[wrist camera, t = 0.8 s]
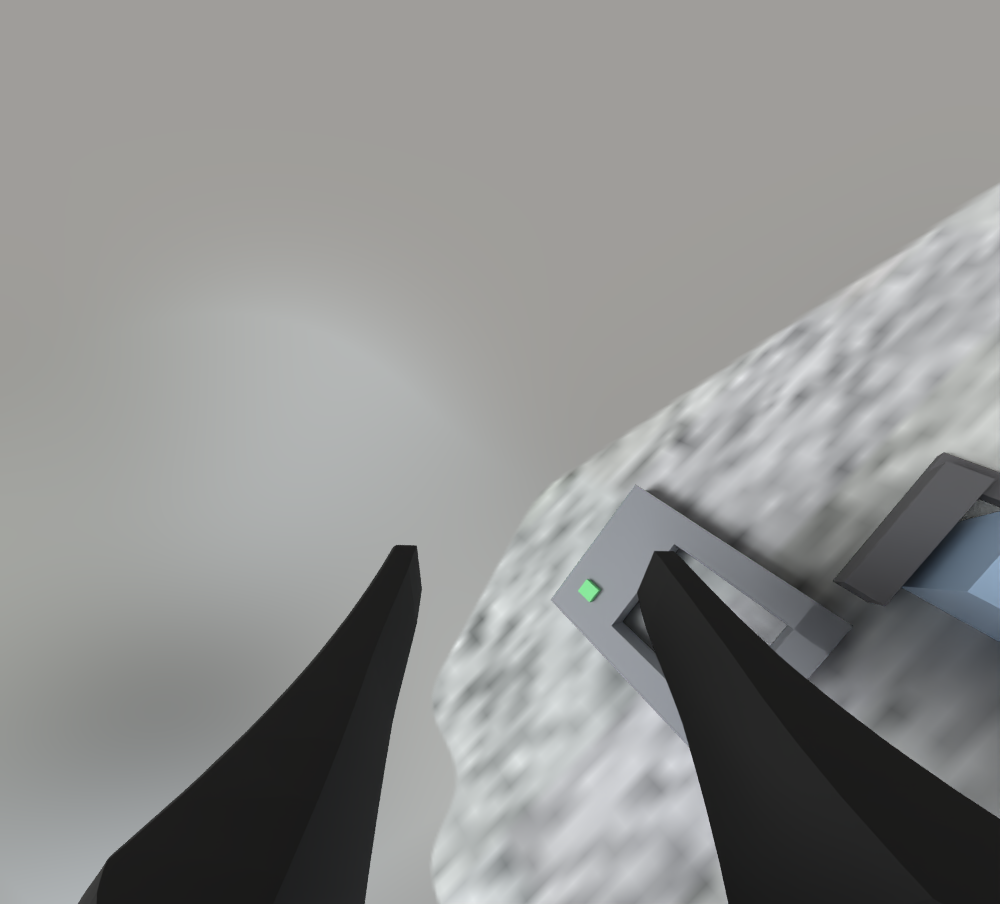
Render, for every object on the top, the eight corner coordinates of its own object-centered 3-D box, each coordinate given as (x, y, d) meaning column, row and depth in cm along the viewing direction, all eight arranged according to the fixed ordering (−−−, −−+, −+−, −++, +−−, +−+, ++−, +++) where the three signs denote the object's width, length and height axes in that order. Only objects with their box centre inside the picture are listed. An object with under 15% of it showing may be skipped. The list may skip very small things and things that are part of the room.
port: (842, 620, 19) (856, 627, 16) (723, 759, 20) (719, 784, 17) (644, 491, 26) (633, 482, 24) (565, 597, 27) (547, 600, 25)
